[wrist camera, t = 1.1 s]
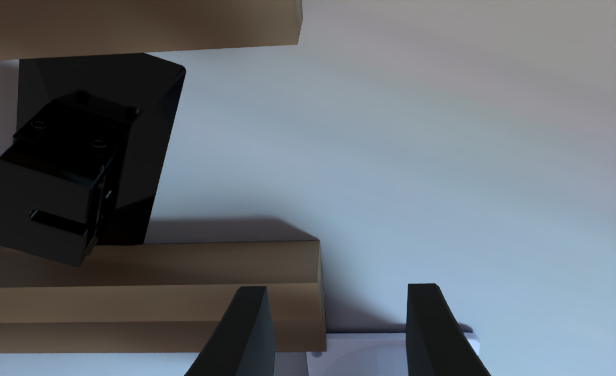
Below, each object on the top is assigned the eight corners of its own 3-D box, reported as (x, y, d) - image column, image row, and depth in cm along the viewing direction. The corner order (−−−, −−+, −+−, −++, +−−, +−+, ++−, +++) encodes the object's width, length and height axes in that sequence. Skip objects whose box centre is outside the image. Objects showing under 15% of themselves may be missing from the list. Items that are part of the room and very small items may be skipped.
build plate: (154, 278, 25) (119, 361, 21) (-6, 231, 24) (-73, 310, 20) (219, 32, 18) (185, 89, 14) (-1, -48, 17) (-101, -10, 13)
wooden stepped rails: (327, 338, 26) (326, 383, 24) (8, 340, 27) (-19, 383, 25) (285, -215, 14) (275, -221, 12) (-274, -163, 15) (-370, -160, 13)
